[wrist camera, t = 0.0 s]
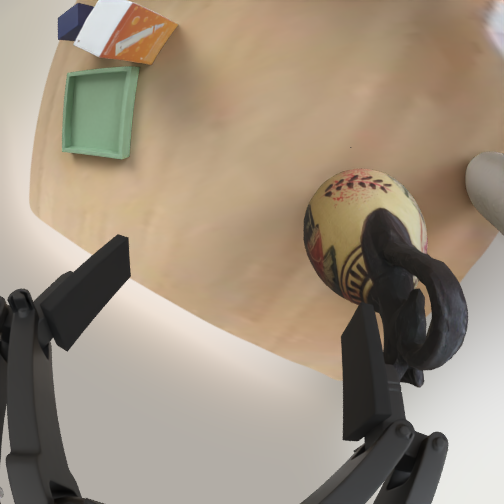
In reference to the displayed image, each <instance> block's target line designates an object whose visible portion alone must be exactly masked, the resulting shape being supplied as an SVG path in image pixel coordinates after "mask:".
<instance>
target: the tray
mask: <svg viewBox="0 0 504 504" xmlns="http://www.w3.org/2000/svg"><path fill="white" fill-rule="evenodd" d="M139 68H140V67H134V66H127V67H112V68H101V69H92V70H84V71H77V72H71V73H67V79H66V87H65V97H64V109H63V128H62V152H69V153H78V154H86V155H94V156H101V157H108V158H115V159H124V158H127V157H129V155H130V140H131V129H132V118H133V109H134V101H135V94H136V87H137V80H138V74H139Z"/></svg>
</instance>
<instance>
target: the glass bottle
mask: <svg viewBox="0 0 504 504" xmlns="http://www.w3.org/2000/svg"><path fill="white" fill-rule="evenodd" d="M465 184H466V190H467V193H468V196H469V198H470V200H471V202H472V204H473V205H474V207H475V208H476V209H477V211H478V212H479V213H480V214H481V215H482V216H483V217H484V218H486V219H487V220H488V221H489V222H490V223H491V224H492V225H493V226H495V227H496V228H497V229H498V230H499V231H500V232H501V233H502V234H503V235H504V154H502V153H499V152H483V153H480V154H479V155H477V156H476V157H474V158H473V159H472V160H471V161H470V163H469V164H468V166H467V169H466V176H465Z"/></svg>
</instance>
